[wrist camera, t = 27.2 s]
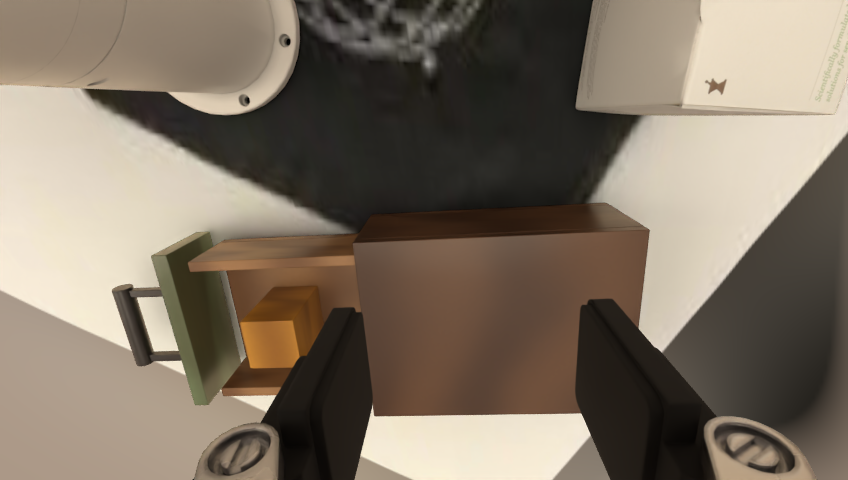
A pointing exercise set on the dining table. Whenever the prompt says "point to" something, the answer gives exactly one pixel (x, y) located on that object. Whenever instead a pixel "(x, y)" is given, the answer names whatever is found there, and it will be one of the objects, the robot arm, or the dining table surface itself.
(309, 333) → the block
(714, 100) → the cosmetic box
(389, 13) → the dining table surface
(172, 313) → the drawer
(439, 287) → the cabinet
